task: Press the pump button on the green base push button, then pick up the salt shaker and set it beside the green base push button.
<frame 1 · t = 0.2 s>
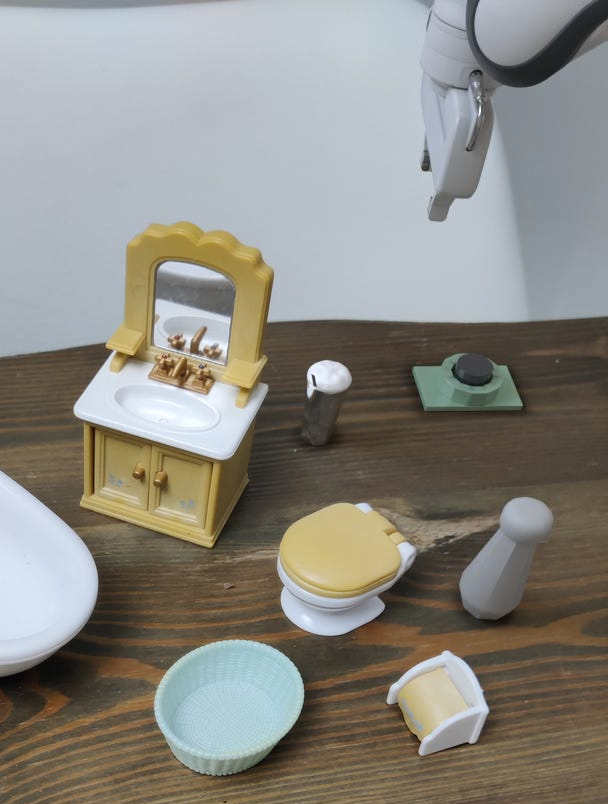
hand: (431, 192, 101), 19 cm above the table, tool pointing down, fingers open, 8 cm apart
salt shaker: (482, 604, 94), on the table
pump button: (473, 370, 110), point 3 cm above the table, slide at 0.1 cm
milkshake: (312, 439, 107), on the table
green base push button: (465, 390, 112), on the table
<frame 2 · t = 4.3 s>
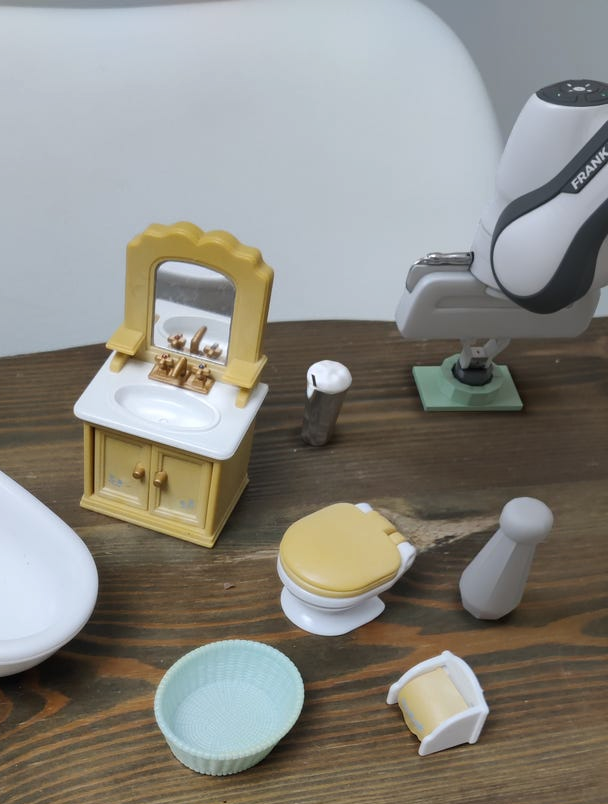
hand: (473, 365, 109), 4 cm above the table, tool pointing down, fingers closed, pressing on pump button
pump button: (473, 370, 110), point 3 cm above the table, slide at 0.1 cm, touching gripper
everything else where it was.
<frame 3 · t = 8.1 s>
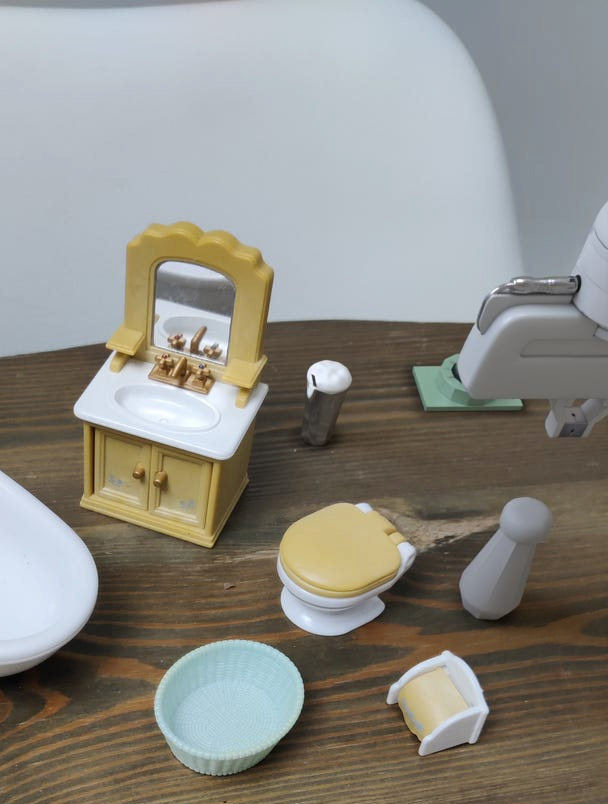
hand: (564, 432, 77), 21 cm above the table, tool pointing down, fingers closed
pump button: (473, 370, 110), point 3 cm above the table, slide at 0.1 cm
everything else where it was.
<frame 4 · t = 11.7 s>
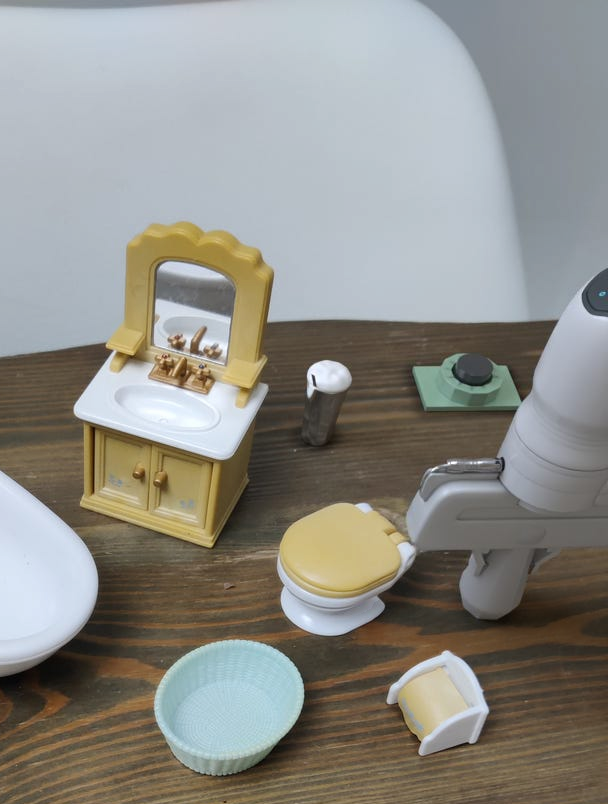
hand: (501, 569, 90), 5 cm above the table, tool pointing down, fingers closed on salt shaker, 3 cm apart
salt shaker: (482, 604, 94), on the table, touching gripper
everything else where it was.
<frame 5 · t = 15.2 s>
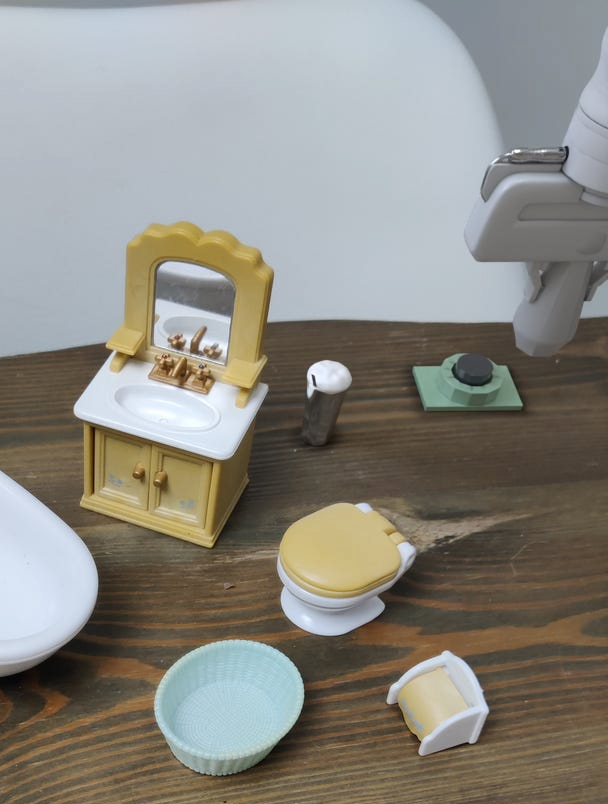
hand: (556, 297, 90), 20 cm above the table, tool pointing down, fingers closed on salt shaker, 3 cm apart
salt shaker: (535, 345, 94), point 15 cm above the table, touching gripper
everything else where it was.
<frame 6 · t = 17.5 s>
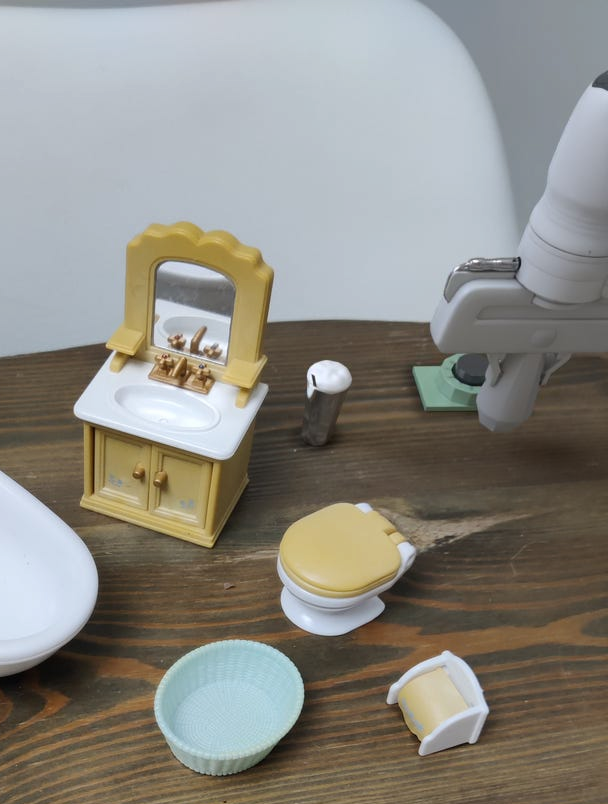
hand: (514, 381, 99), 9 cm above the table, tool pointing down, fingers closed on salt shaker, 3 cm apart
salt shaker: (496, 421, 104), point 4 cm above the table, touching gripper
everything else where it was.
when the fingers open (5 cm above the table, at t = 18.9 s): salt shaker stays where it is, on the table.
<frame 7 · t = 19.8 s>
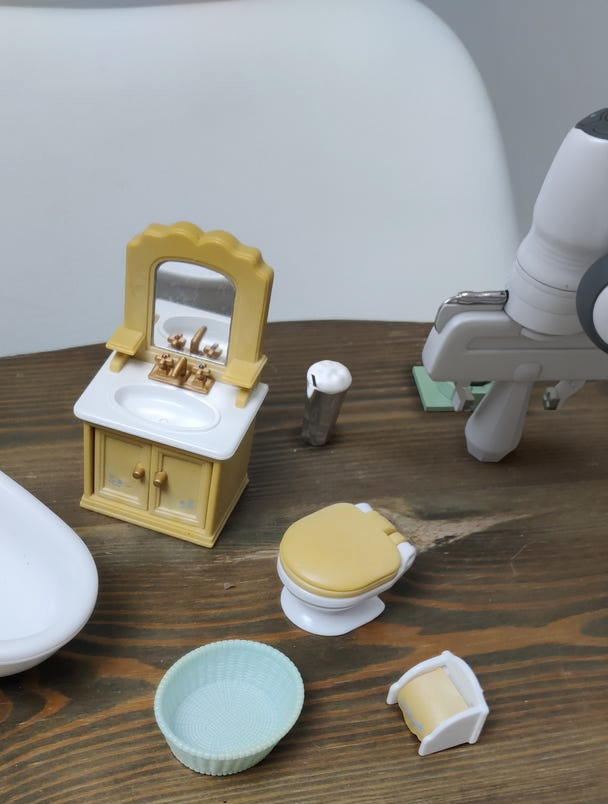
hand: (505, 407, 102), 6 cm above the table, tool pointing down, fingers open, 8 cm apart
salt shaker: (485, 450, 107), on the table
everything else where it was.
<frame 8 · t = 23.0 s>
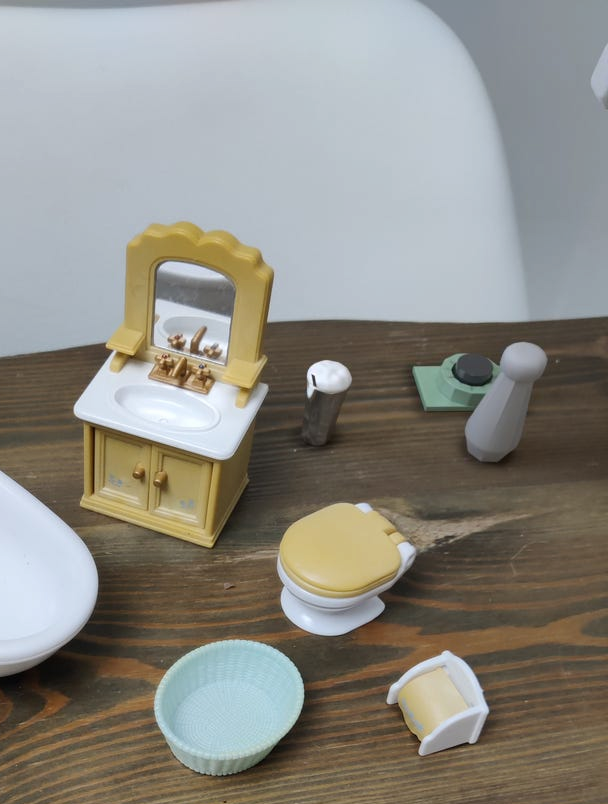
nothing on the table moved.
at the end: pump button pushed in 0.8 cm at the most during the clip, back to where it started at the end; pump button slide at 0.1 cm; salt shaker 0.1 cm from the target spot on the table beside the green base push button, on the table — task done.
